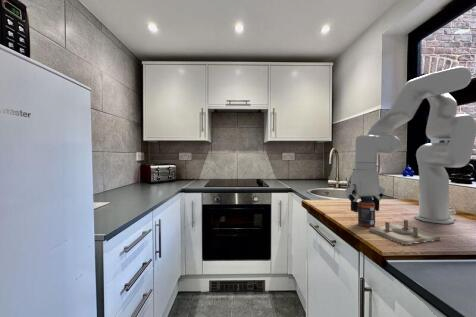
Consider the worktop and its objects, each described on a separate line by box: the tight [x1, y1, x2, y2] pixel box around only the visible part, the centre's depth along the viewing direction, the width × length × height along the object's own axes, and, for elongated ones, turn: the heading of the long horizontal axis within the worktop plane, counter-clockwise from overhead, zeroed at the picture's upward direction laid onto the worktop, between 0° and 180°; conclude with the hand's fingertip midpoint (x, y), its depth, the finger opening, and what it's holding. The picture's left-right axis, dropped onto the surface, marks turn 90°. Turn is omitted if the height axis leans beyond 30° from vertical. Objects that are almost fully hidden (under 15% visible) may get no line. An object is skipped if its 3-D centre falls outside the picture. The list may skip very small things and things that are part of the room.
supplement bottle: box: [357, 196, 376, 228], centre depth 94 cm, size 6×6×11 cm
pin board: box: [369, 219, 441, 245], centre depth 82 cm, size 14×14×4 cm
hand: (364, 210), depth 94 cm, fingers open, 9 cm apart
